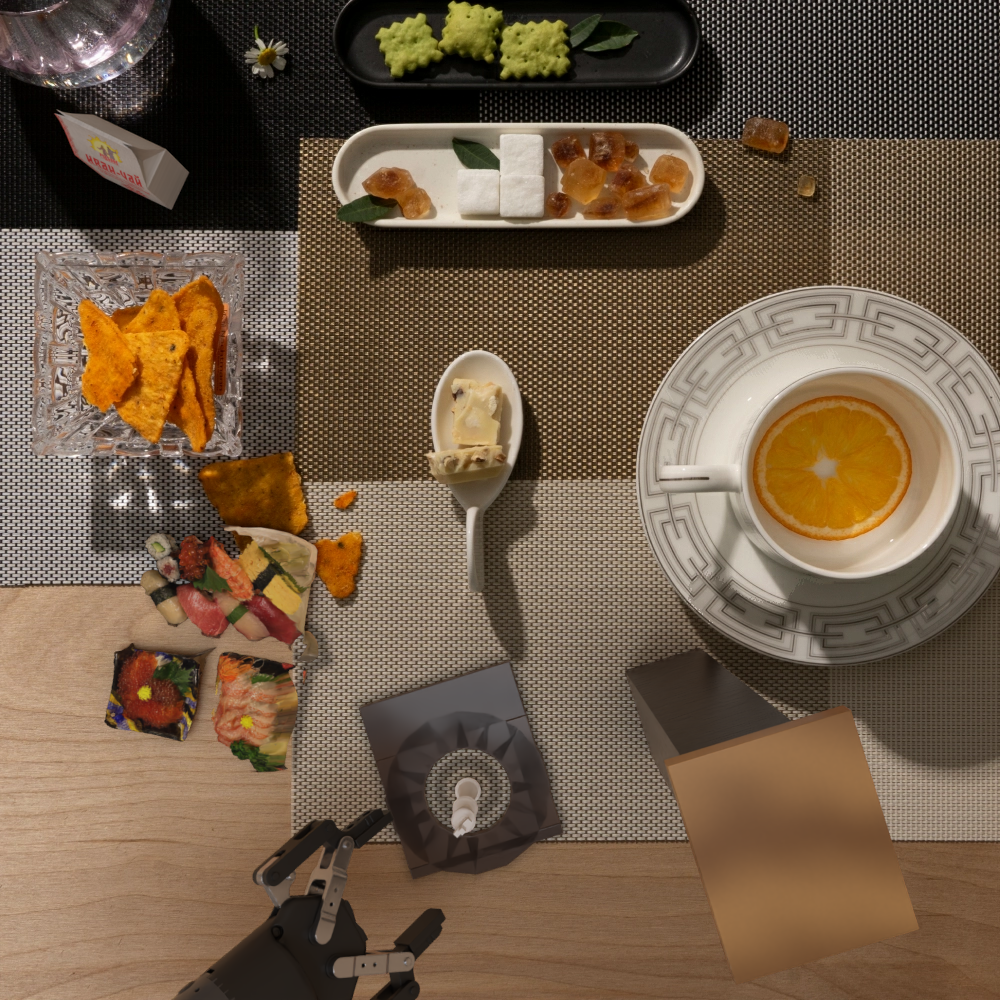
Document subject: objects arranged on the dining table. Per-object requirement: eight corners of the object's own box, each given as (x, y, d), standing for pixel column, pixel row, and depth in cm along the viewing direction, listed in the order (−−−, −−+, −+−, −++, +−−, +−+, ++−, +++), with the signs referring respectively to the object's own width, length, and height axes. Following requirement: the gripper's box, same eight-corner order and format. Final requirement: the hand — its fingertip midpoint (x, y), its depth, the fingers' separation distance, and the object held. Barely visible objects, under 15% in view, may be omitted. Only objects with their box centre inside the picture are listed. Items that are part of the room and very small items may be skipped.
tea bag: (128, 146, 71) (65, 89, 61) (194, 178, 71) (143, 126, 61) (111, 183, 71) (45, 132, 61) (177, 214, 71) (122, 169, 61)
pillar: (722, 728, 70) (872, 891, 41) (648, 751, 71) (746, 930, 42) (696, 644, 70) (827, 748, 41) (622, 667, 71) (701, 787, 42)
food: (153, 501, 71) (134, 501, 67) (353, 543, 71) (345, 545, 67) (104, 737, 71) (83, 749, 68) (304, 779, 71) (293, 794, 67)
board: (568, 836, 71) (570, 846, 69) (417, 882, 71) (414, 894, 69) (511, 655, 71) (511, 660, 69) (360, 702, 71) (356, 708, 69)
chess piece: (430, 785, 71) (417, 833, 61) (467, 745, 71) (460, 787, 61) (470, 822, 71) (463, 876, 61) (507, 782, 71) (506, 830, 61)
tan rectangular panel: (910, 919, 41) (920, 929, 40) (730, 973, 42) (735, 985, 41) (843, 704, 41) (851, 709, 40) (663, 759, 42) (667, 766, 41)
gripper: (306, 1150, 46) (484, 949, 57) (194, 936, 46) (395, 777, 57) (256, 1119, 51) (428, 940, 63) (156, 927, 51) (346, 783, 63)
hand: (412, 862), depth 60 cm, fingers open, 8 cm apart
